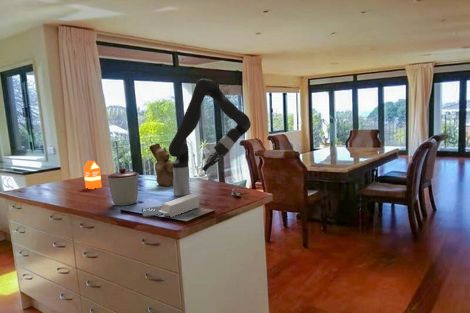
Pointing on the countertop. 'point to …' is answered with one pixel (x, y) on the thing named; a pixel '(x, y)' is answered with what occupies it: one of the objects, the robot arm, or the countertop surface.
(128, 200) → the canister
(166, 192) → the countertop surface
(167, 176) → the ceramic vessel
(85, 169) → the orange juice
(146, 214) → the mat
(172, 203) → the milk
